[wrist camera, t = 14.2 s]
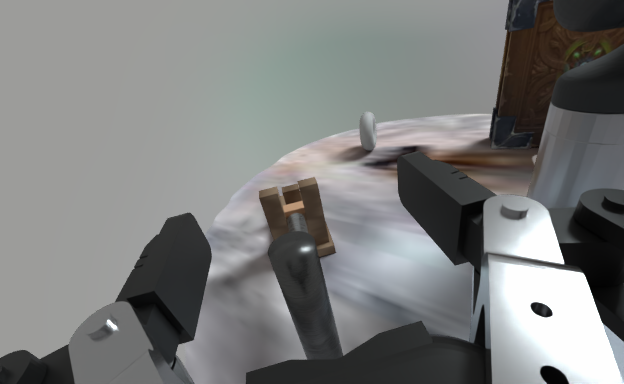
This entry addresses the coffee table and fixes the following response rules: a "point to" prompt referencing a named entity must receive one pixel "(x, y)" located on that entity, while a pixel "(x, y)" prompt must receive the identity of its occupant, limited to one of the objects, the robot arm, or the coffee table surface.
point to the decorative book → (538, 69)
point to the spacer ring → (294, 208)
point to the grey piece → (305, 290)
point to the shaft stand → (312, 214)
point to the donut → (368, 131)
